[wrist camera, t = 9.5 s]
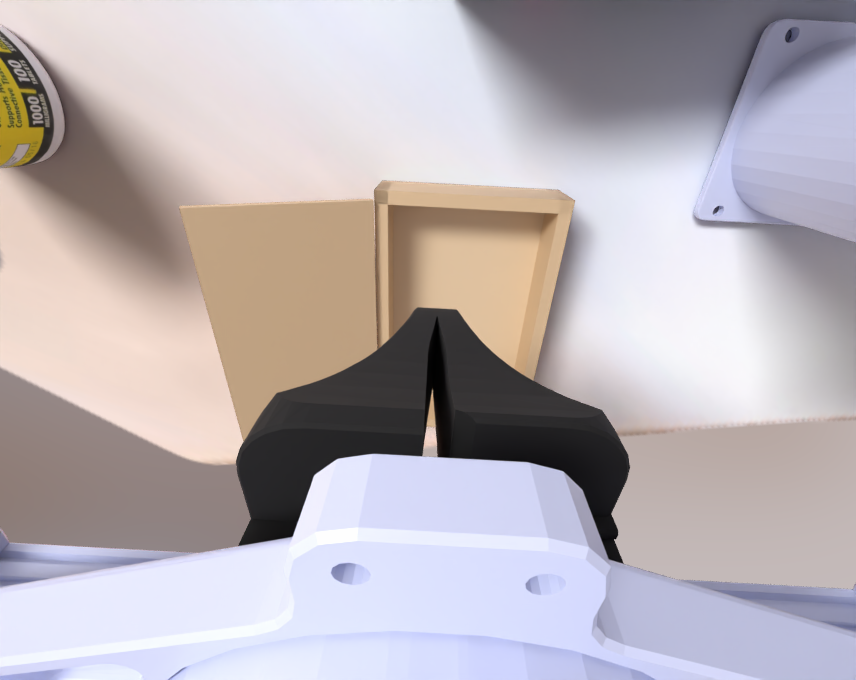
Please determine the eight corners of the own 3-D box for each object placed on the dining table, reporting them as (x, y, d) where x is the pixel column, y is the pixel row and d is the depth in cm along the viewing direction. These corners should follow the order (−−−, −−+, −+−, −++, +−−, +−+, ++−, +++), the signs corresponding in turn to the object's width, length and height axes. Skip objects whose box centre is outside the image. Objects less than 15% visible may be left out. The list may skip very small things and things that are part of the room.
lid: (179, 208, 14) (180, 205, 15) (248, 457, 21) (247, 451, 21) (373, 200, 17) (369, 198, 17) (379, 422, 24) (376, 417, 24)
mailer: (558, 190, 20) (575, 200, 17) (514, 402, 27) (521, 431, 24) (382, 180, 20) (374, 189, 17) (385, 395, 27) (379, 423, 24)
